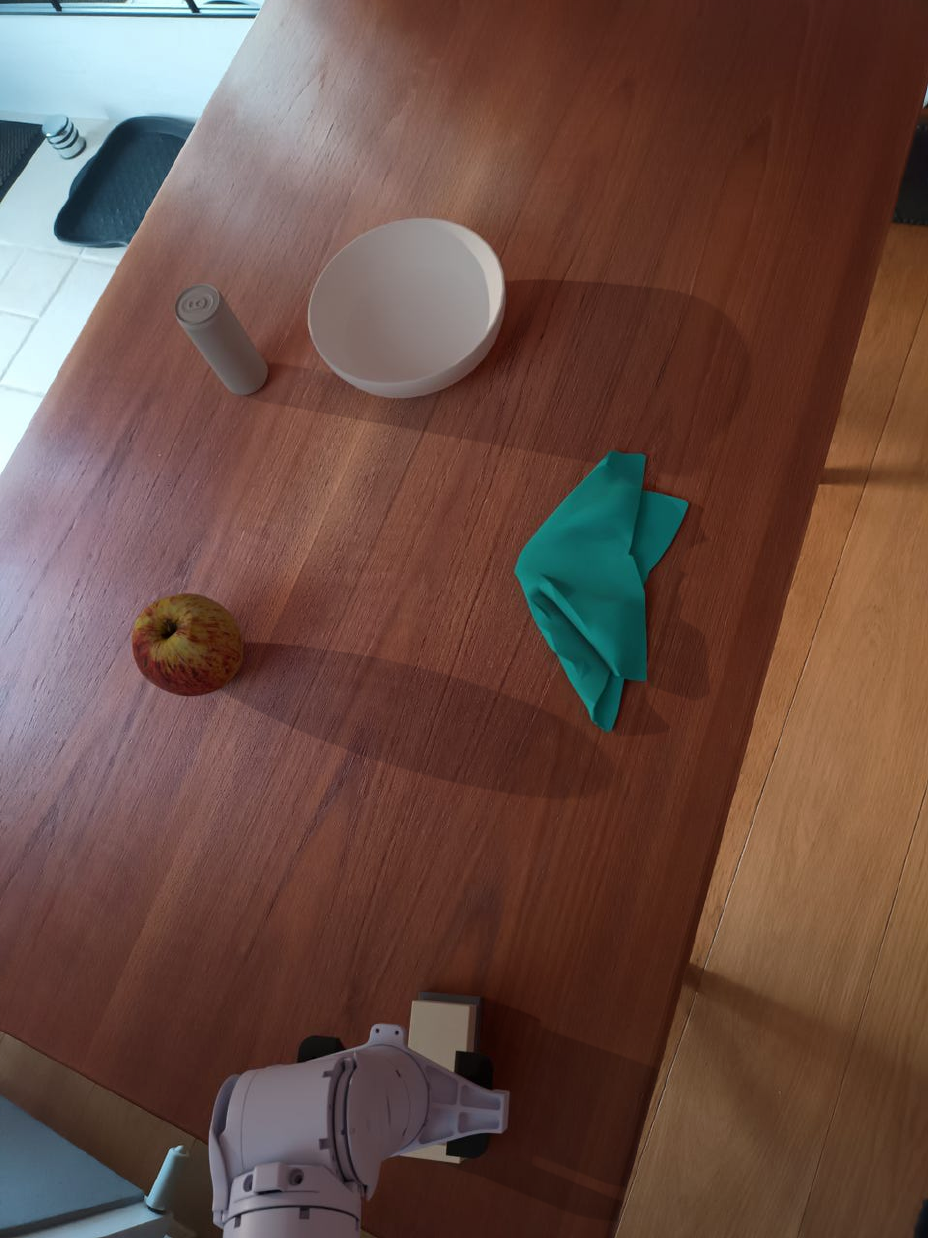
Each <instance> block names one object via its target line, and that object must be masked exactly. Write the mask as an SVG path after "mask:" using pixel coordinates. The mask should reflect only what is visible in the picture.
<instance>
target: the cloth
mask: <svg viewBox="0 0 928 1238" xmlns="http://www.w3.org/2000/svg"><path fill="white" fill-rule="evenodd" d="M646 460H647V455H645V454H643V453H622V452H619V451H617V450H616V449H615V450H614V449H611V450H610V451H609V452H608V453H607V454H606V455H605V456H604V457H603V458H602V460H601V461H600V462H599V463H598V464H597V465H596V466H595V467H594V468H593V469H592V470H591V471H590V472H589V473H588V474H587V475H586V477H584V478H583V480H582V481H581V482H580V483H579V484H578V485H577V486H576V487H575V488H574V489H573V490H572V491H571V492H570V493H569V494H568V495H567V496H566V497H565V498H564V499H563V501H562V502H560V504H558V506H557V507H556V508H555V509H554V511H553V512H552V513H551V514H550V516H549V517H548V518H547V519H546V520H545V521H544V522H543V524H542V525H541V526H540V527H539V528H538V530H536V532H535V533H534V534H533V535H532V536H531V537H530V539H529V540H528V542H527V543H526V544H525V545H524V547H523V548H522V550H521V551H520V553H519V555H518V558H517V562H516V565H515V568H514V574H515V576H516V577H517V579H518V582H519V583H520V586H521V588H522V591H523V593H524V597H525V599H526V601H527V605H528V607H529V610H530V613H531V616H532V618H533V619H534V622H535V623H536V625H537V627H538V629H539V631H540V632H541V634H542V635H543V637H544V639H545V640H546V642H547V644H548V645H549V648H550V649H551V650H552V651H553V652H554V653H555V654H556V655H557V658H558V659H559V662H560V664H561V666H562V668H563V669H564V672H565V674H566V676H567V678H568V680H569V682H570V683H571V685H572V686H573V689H575V691H576V692H577V695H578V696H579V697H580V699H581V701H582V702H583V704H584V705H585V706H586V708H587V711H588V714H589V717H590V720H591V722H592V723H594V724H595V725H596V726H597V727H598V728H600V729H601V730H602V731H603V732H611V731H612V729H613V728H614V724H615V721H616V719H617V716H618V713H619V709H620V703H621V698H622V693H623V688H624V682H625V679H626V680H629V681H639V682H640V681H641V682H647V678H648V677H647V676H648V674H647V673H648V671H647V666H648V665H647V663H648V662H647V657H648V656H647V655H648V654H647V651H648V650H647V649H648V648H647V647H648V646H647V645H648V644H647V623H646V621H647V620H646V594H645V590H644V589H645V588H644V586H645V584H646V582H647V580H648V578H649V575H650V574H649V573H650V571H651V570H652V569H653V568H654V567H655V566H656V565H657V564H658V563H659V562H660V560H661V559H662V558H663V556H664V554H665V553H666V551H668V548H669V547H670V546H671V544H672V542H673V540H674V538H675V536H676V534H677V532H678V530H679V528H680V527H681V524H682V522H683V520H684V517H685V515H686V512H687V510H688V508H689V502H688V501H687V500H685V499H681V498H678V497H674V496H670V495H667V494H663V493H660V492H655V491H647V490H643V484H644V476H645V468H646V467H645V466H646V462H647V461H646Z"/></svg>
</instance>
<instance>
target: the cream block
mask: <svg viewBox="0 0 928 1238" xmlns="http://www.w3.org/2000/svg"><path fill="white" fill-rule="evenodd" d="M483 998H484V997H483V996H477V995H467V994H457V993H446V992H437V991H427V990H426V991H425V990H420V991H418V999H414V1000H412V1002H411V1012H410V1020H409V1021H410V1023H409V1030H408V1031H409V1032H408V1041H407V1046H408V1047H409V1048H410V1049H412V1050H413V1051H415V1052H417V1053H419V1054H421V1055H423V1056H424V1057H426V1058H428V1059H430V1060H432V1061H434V1062H435V1063H437V1064H439V1065H441V1066H443V1067H445V1068H447V1069H448V1070H450V1071H452V1072H454V1065H455V1053H456V1051H466V1052H476V1053H480V1042H481V1041H480V1040H481V1039H480V1038H481V1027H482V1026H481V1025H482V1015H483V1013H482V1012H483ZM446 1145H447V1142H443V1143H440V1144H436V1145H433V1146H429V1147H426V1148H422V1149H419V1150H415V1151H412V1152H408V1153H404V1154H401V1155H399V1156H400V1157H408V1158H414V1159H423V1160H429V1161H430V1160H431V1161H436V1162H445V1163H452V1164H461V1163H462V1162H463V1161H469V1160H470V1159H469V1158H462V1157H454V1156H447V1155H446Z"/></svg>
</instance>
